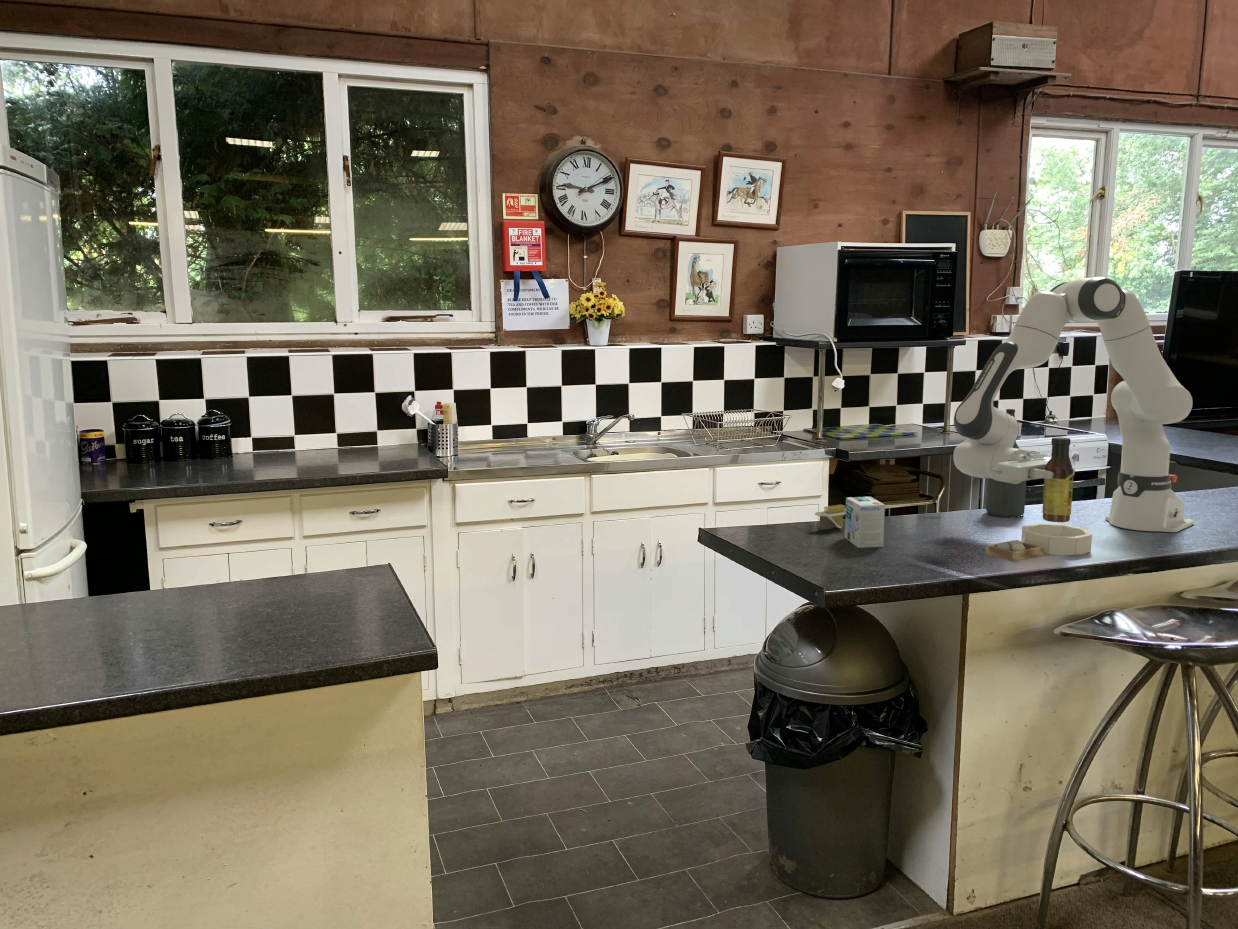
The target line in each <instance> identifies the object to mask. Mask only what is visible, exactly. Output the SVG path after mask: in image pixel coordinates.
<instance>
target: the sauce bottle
mask: <svg viewBox="0 0 1238 929" xmlns="http://www.w3.org/2000/svg"><path fill="white" fill-rule="evenodd" d="M1050 443H1051V454H1050V456H1052V457H1051V459H1050V460H1049V462H1048V463H1047V464H1046V468H1045V470H1046V471H1047V470H1050V471H1054V472H1055V478H1053V479H1045V478H1043V479H1044V480H1043V481H1044V482H1043V492H1042V495H1043V496H1042V511H1041V513H1042V519H1043V520H1044V521H1046V522H1051V523H1067V522H1069V521H1071V520H1070V519H1071V514H1072V505H1073V504H1072V503H1073V488H1074V475H1075V474H1074V471H1073V465H1072V462H1071V458H1070V446H1071V438H1069V437H1051V442H1050ZM1073 474H1074V475H1073Z"/></svg>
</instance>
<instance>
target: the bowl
mask: <svg viewBox="0 0 1238 929" xmlns="http://www.w3.org/2000/svg"><path fill="white" fill-rule="evenodd" d="M1092 538H1093V534H1092V533H1091V532H1090V530H1088V529H1086V528H1083V527H1078V526H1073V525H1068V524H1063V523H1062V524H1060V523H1034V524H1027V525H1023V526H1022V527H1021V540H1020V541H1021V542H1023V543H1028V544H1032V545H1036V546H1040V547H1043V555H1052V556H1054V555H1055V556H1081V555H1086V554H1088V553H1090V552H1092V540H1093V539H1092Z"/></svg>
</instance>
